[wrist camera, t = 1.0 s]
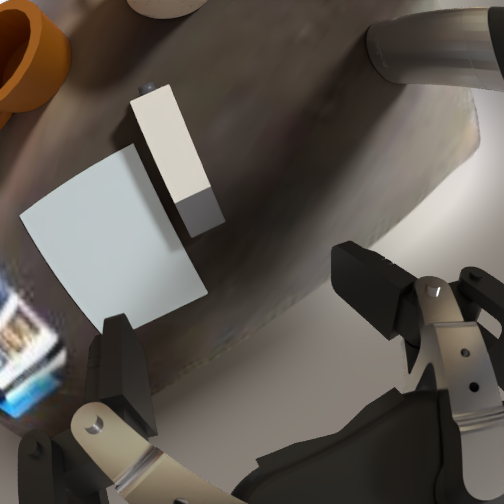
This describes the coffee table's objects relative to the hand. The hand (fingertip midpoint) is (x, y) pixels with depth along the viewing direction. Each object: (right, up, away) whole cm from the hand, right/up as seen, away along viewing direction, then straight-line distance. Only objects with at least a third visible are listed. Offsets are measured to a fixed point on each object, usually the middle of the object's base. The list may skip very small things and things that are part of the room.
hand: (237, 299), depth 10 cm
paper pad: (-14, +1, +16) cm, 21 cm away
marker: (-7, +10, +15) cm, 19 cm away
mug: (-21, +18, +6) cm, 28 cm away
